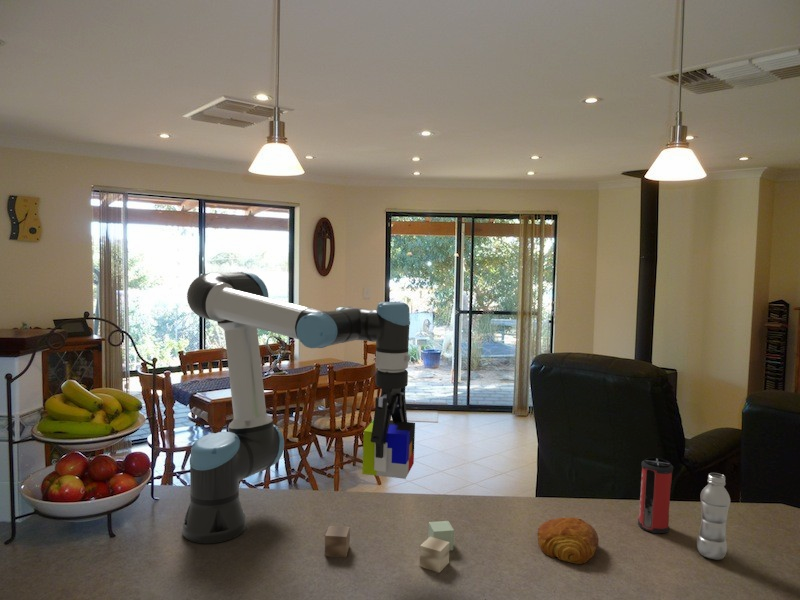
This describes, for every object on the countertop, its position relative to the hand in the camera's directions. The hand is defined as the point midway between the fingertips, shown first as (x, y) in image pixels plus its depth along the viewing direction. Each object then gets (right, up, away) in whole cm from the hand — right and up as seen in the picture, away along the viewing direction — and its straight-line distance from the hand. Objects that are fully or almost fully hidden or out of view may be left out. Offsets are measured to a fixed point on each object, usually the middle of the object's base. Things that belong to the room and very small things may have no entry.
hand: (389, 462), depth 137 cm
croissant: (+43, -23, +6) cm, 49 cm away
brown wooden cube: (-12, -21, +2) cm, 25 cm away
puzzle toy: (0, -2, 0) cm, 2 cm away
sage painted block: (+12, -22, +6) cm, 26 cm away
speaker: (+70, -23, +18) cm, 76 cm away
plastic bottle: (+78, -24, +4) cm, 81 cm away
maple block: (+10, -23, -3) cm, 25 cm away
